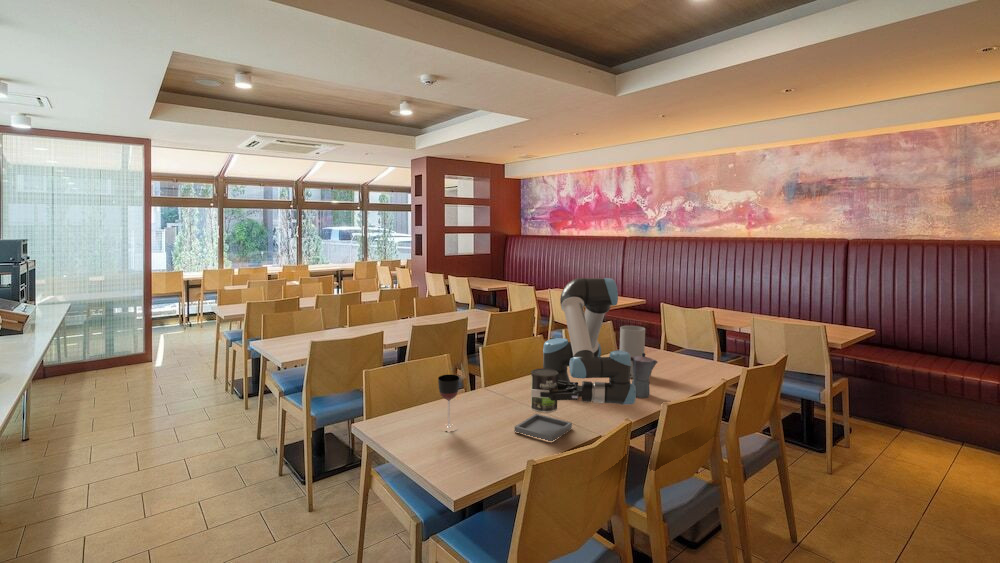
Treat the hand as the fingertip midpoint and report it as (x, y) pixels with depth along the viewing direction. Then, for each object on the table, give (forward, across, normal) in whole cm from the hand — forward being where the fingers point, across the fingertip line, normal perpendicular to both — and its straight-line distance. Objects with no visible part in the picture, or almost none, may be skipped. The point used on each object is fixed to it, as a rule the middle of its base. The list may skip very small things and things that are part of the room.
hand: (532, 388), depth 192 cm
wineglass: (+32, -4, -17) cm, 36 cm away
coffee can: (-4, 0, -8) cm, 9 cm away
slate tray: (-4, 0, -17) cm, 17 cm away
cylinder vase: (-44, +80, -16) cm, 93 cm away
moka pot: (-44, +49, -17) cm, 68 cm away
